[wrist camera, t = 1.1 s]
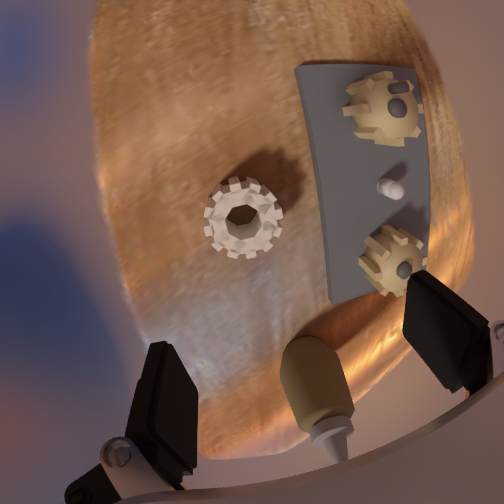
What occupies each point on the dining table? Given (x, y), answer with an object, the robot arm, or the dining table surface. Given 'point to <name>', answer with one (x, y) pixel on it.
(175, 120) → the dining table surface
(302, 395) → the squeeze bottle
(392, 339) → the dining table surface
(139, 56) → the dining table surface
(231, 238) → the cream idler gear
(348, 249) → the gear board
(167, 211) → the dining table surface
